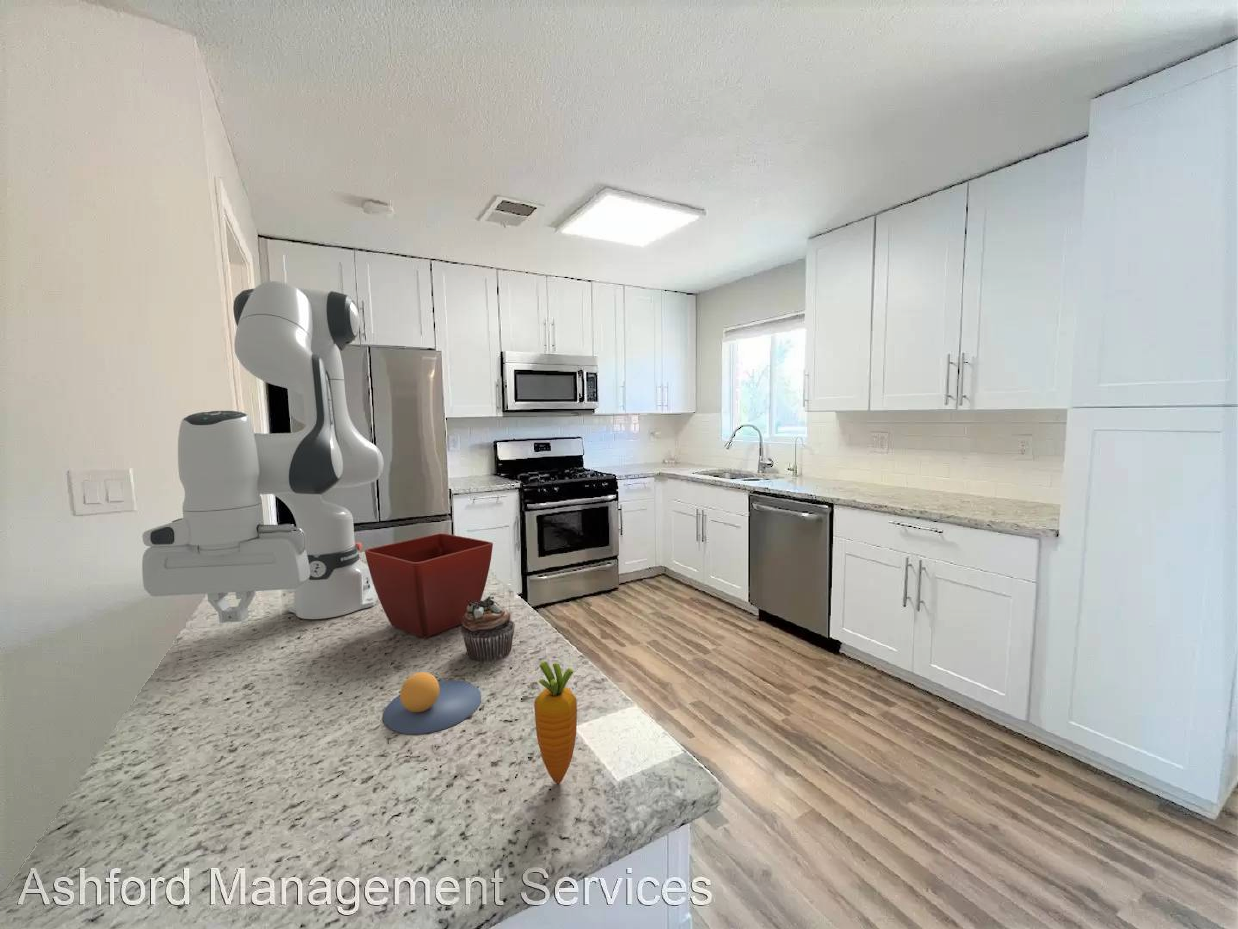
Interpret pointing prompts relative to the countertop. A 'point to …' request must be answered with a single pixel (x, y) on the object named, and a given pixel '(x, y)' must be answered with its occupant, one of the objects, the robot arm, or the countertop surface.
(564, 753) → the carrot
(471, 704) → the disc
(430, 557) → the plant pot
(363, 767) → the countertop surface
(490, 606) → the cupcake
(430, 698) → the ball
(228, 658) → the countertop surface
